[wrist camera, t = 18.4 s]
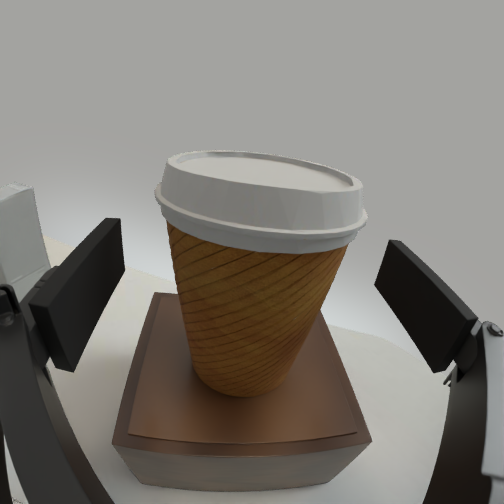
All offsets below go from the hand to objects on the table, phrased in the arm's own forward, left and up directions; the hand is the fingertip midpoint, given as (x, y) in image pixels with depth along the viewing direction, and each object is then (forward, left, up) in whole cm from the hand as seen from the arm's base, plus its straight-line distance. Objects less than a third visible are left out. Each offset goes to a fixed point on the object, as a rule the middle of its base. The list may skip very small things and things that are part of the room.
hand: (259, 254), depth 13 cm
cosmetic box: (+20, -21, -16) cm, 33 cm away
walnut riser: (0, -1, -16) cm, 16 cm away
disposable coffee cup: (0, -1, -8) cm, 8 cm away
